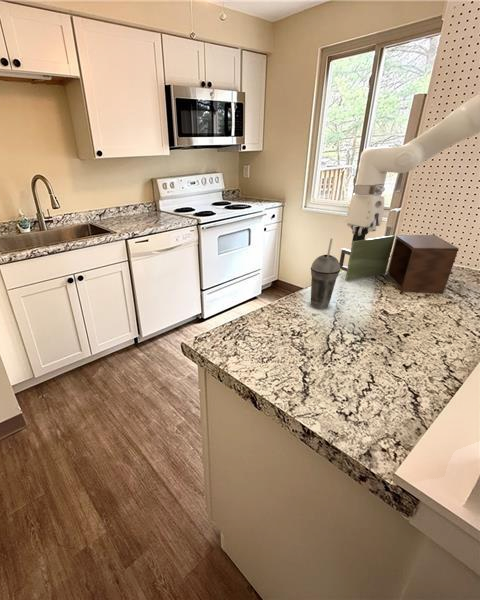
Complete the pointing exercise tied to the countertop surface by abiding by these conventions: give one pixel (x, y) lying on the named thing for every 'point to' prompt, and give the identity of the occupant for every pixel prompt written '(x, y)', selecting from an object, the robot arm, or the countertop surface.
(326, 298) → the beverage cup
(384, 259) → the cupboard door
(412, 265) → the cupboard
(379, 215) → the robot arm
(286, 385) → the countertop surface
